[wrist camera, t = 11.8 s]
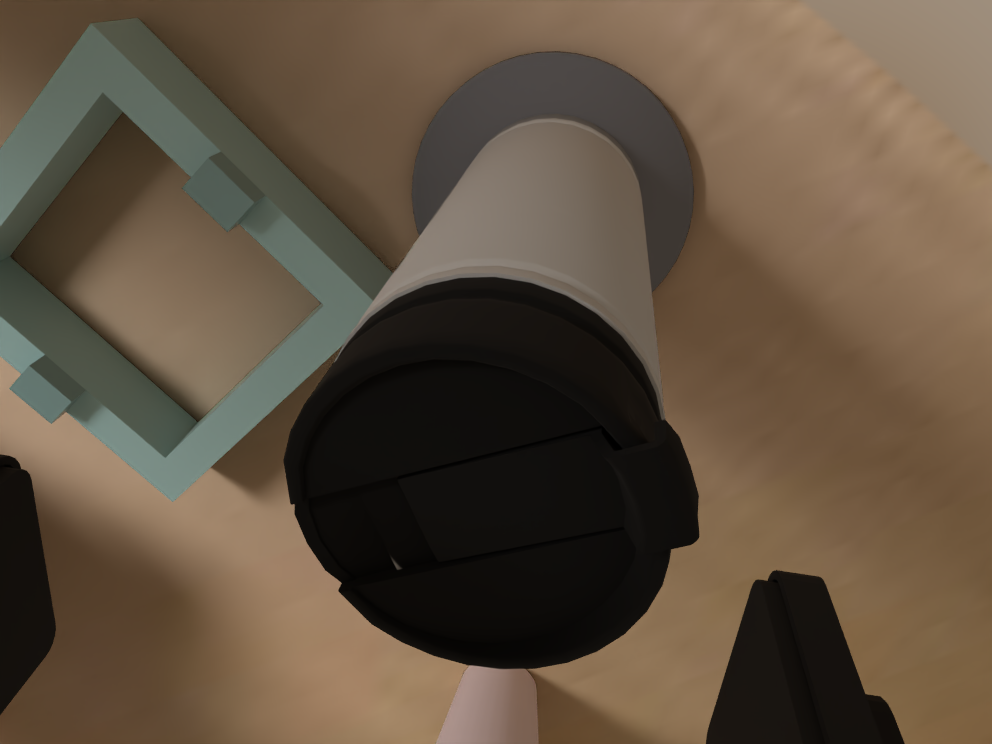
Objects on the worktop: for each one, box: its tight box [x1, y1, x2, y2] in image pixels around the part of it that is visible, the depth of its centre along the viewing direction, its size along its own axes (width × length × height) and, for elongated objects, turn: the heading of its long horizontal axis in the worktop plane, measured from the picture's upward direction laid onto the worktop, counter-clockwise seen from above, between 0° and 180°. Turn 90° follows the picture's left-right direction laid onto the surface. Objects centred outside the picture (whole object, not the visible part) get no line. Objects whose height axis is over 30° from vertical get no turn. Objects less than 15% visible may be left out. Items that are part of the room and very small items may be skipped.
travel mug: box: [284, 114, 699, 669], centre depth 22 cm, size 6×7×20 cm
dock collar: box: [0, 18, 393, 502], centre depth 32 cm, size 13×13×4 cm
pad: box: [412, 52, 694, 292], centre depth 31 cm, size 10×10×1 cm
